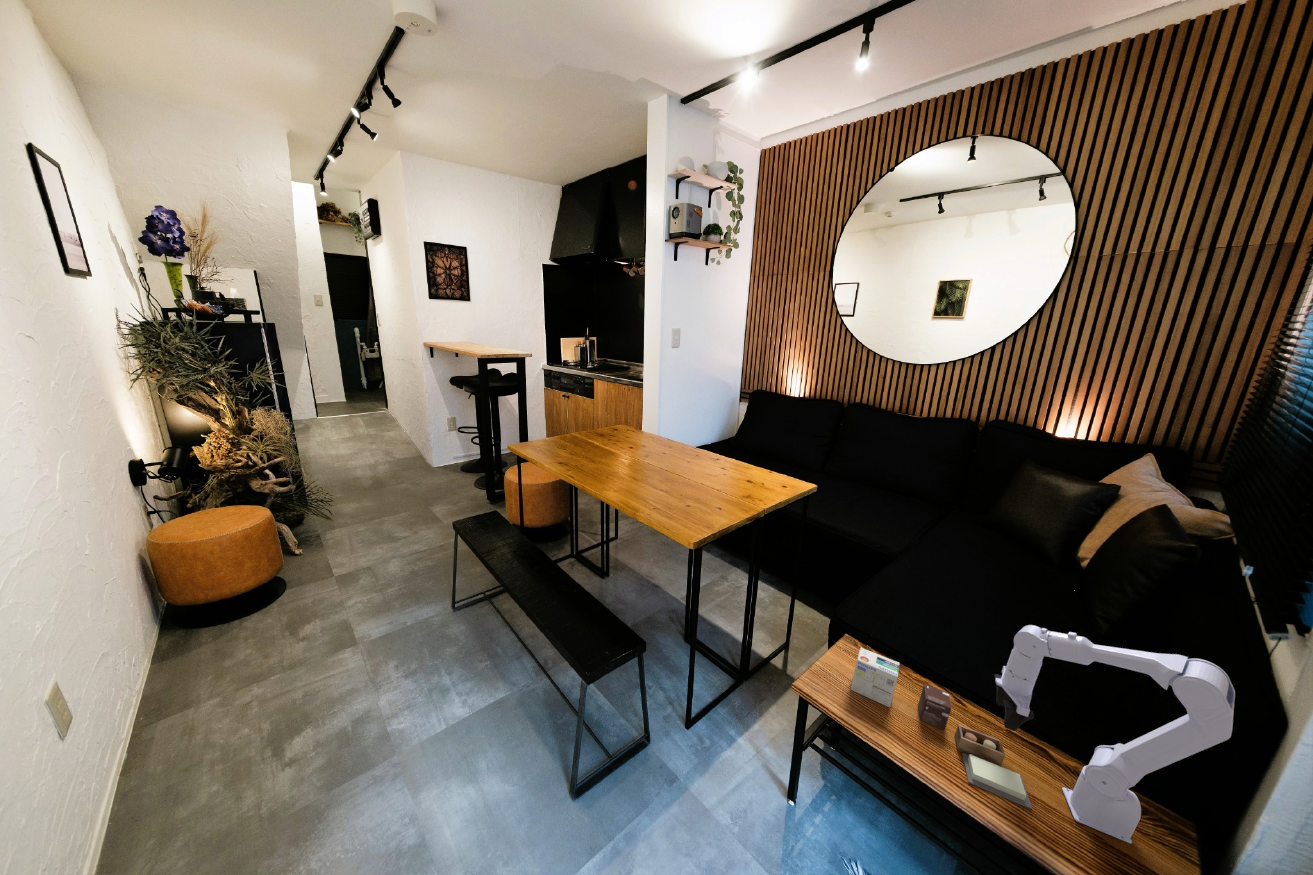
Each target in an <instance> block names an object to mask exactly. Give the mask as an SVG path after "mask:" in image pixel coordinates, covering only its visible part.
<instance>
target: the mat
mask: <svg viewBox="0 0 1313 875" xmlns="http://www.w3.org/2000/svg"><path fill="white" fill-rule="evenodd" d="M961 755H962V760H963V764H964V769H965V774H966V779H967V783H968V784H970V785H972V786H975V787H978V788H979V789H983V790H985V791H987V792H989V793H991V794H994V795H996V796H999V797H1001V798H1003V799H1005V800H1007V801H1010V802H1013V803H1015V804H1017V805H1019V806H1022V807H1024V808H1026V809H1029V810H1031V811H1032V810H1033V806H1032V803H1031V801H1030V797H1029V795H1028V794H1029V793H1028V792H1027V788H1026V786H1025V783H1024V779H1023V776H1021V775H1020V777H1021V780H1022V784H1023V787H1024V790H1025V793H1026V798H1025V800H1022V799H1020V798H1017V797H1015V796H1012V795H1010V794H1008V793H1005V792H1003V791H1001V790H998V789H996V788H994V787H991V786H989V785H986V784H984V783H982V782H979V781H977V780H975V779H972V776H971V771H970V766H969V762H968V757H969V755H967V754H965V753H962V754H961Z"/></svg>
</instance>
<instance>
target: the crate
mask: <svg viewBox="0 0 1313 875" xmlns="http://www.w3.org/2000/svg"><path fill="white" fill-rule="evenodd" d="M954 733H955V734H954V740H955V741H954V742H955V744H956V750H957V751H958V752H961V753H962V754H963V753H964V754H967V755H969V754H971V755H973V756H976V757H978V758H980V759H983V760H985V761H988V762H990V763H993V764H995V765H998V766H1000V767H1002V766H1003V763H1004V760H1005V756H1006V752H1005V750H1004V747H1003V744H1002V741H1001V739H998V738H996V737H993V736H990V735H988V734H986V733H984V732H980V731H977V730H975V729H972V728H969V727H967V726H964V725H962V724H957V726H956V730H955V732H954Z"/></svg>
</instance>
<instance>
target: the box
mask: <svg viewBox="0 0 1313 875" xmlns="http://www.w3.org/2000/svg"><path fill="white" fill-rule="evenodd" d="M950 698H951V697H950V693H949V692H947V691H944V690H941V689H939V688H937V687H934V686H931V685H928V684H926V683H924V684H923V686H922V690H921V694H920V696H919V700H918V704H917V705H918V706H917V707H918V708H917V709H918V716H919V717H918V718H919V721H921V722H924V723H926V724H929V725H931V726H933V727H936V728H938V729H941V730H944V731H945V729H946V727H947V723H948V720H949V717H950V714H951V711H952V704H951V699H950Z"/></svg>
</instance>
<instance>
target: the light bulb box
mask: <svg viewBox="0 0 1313 875" xmlns="http://www.w3.org/2000/svg"><path fill="white" fill-rule="evenodd" d="M899 670H900V662H899V661H897V660H893V659H892V658H888V657H886V656H883V655H881V654H878V653H876V652H874V651H871V650H868V649H866V648H863V647H860V648H859V652H858V655H857V659H856V661H855V666H854V672H853V675H852V681H851V685H850V690H851V691H853V692H854V693H858V694H860V695H862V696H864V697H866V698H868V699H870V700H872V701H874V702H877V703H879V704H881V705H884V706H886V707H888V708H891V704H892V701H893V698H894V694H895V689H896V686H897V682H898V678H899Z"/></svg>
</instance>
